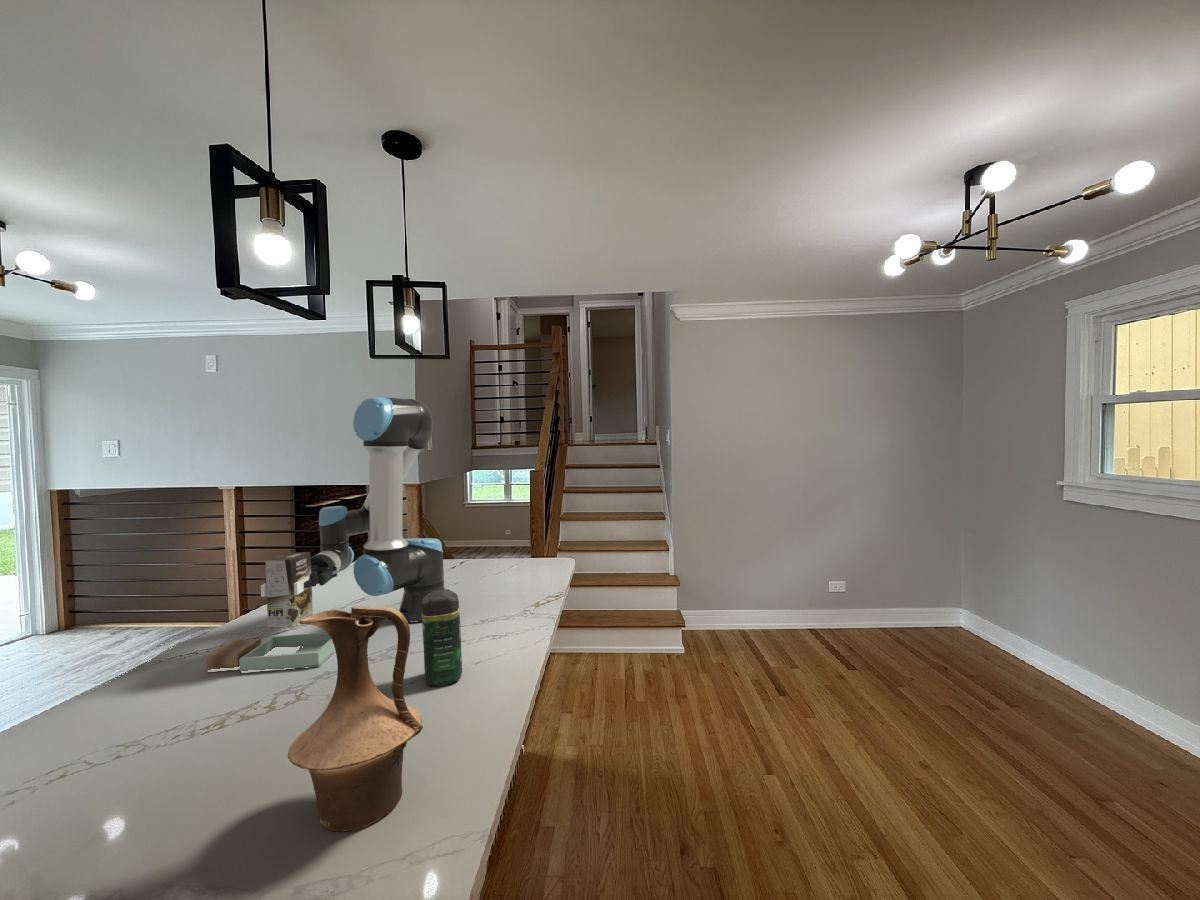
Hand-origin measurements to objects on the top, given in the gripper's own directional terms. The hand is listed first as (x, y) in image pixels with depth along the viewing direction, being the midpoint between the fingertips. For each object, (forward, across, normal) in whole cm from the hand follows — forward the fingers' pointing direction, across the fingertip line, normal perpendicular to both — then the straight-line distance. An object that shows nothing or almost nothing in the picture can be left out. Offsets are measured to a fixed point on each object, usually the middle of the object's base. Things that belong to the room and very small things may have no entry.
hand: (279, 590), depth 127 cm
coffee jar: (+14, -40, -18) cm, 47 cm away
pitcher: (+55, -38, -18) cm, 69 cm away
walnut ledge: (-5, +14, -18) cm, 23 cm away
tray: (-5, 0, -18) cm, 19 cm away
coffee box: (-5, 0, -9) cm, 10 cm away
